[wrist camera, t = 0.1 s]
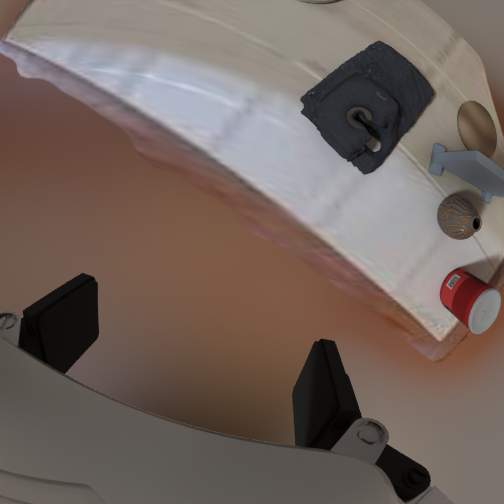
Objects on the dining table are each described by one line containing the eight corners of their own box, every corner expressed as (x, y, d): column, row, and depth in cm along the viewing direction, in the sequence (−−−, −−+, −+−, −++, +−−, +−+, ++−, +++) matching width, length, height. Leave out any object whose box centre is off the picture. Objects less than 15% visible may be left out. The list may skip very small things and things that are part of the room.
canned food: (435, 309, 42) (465, 338, 32) (442, 268, 40) (477, 292, 30) (463, 304, 42) (493, 330, 31) (470, 266, 40) (505, 287, 29)
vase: (463, 201, 37) (494, 208, 28) (453, 238, 39) (483, 251, 30) (437, 188, 37) (468, 193, 28) (426, 227, 39) (456, 239, 30)
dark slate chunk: (438, 104, 33) (453, 99, 29) (359, 182, 38) (370, 183, 34) (378, 36, 31) (387, 25, 26) (288, 107, 36) (291, 98, 31)
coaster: (459, 91, 31) (461, 90, 31) (496, 118, 31) (498, 118, 31) (454, 143, 34) (456, 143, 34) (491, 168, 34) (493, 168, 34)
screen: (433, 143, 35) (478, 138, 23) (491, 178, 35) (534, 184, 23) (428, 171, 36) (473, 173, 25) (487, 203, 36) (529, 213, 25)
